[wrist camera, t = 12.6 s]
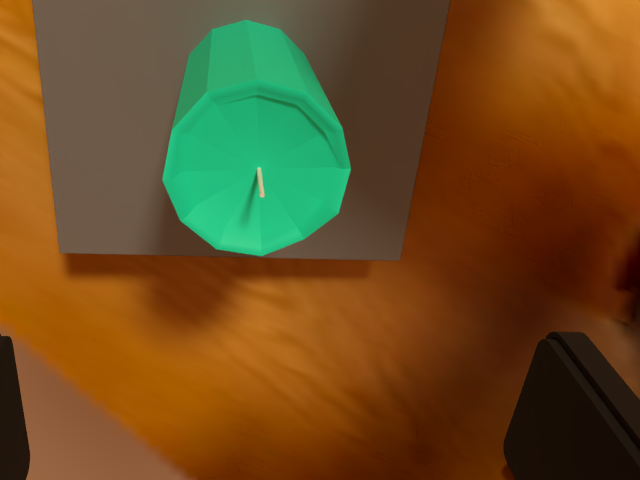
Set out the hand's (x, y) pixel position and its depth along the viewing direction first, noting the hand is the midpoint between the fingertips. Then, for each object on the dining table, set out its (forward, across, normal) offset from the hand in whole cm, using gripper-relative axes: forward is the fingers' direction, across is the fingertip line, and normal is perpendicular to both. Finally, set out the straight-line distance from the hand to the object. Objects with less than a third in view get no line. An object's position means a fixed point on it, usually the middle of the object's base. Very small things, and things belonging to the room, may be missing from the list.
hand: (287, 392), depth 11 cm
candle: (+20, 0, 0) cm, 21 cm away
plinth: (+24, 0, 0) cm, 24 cm away
